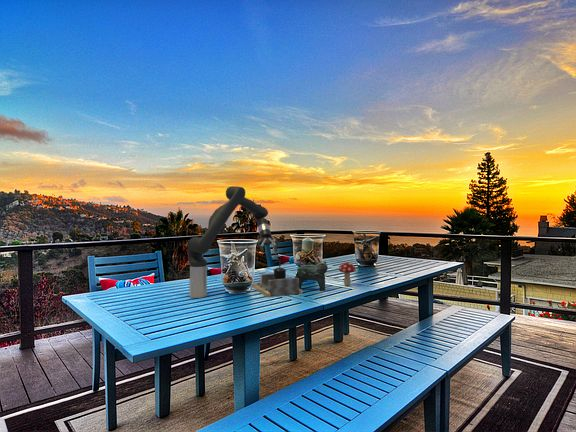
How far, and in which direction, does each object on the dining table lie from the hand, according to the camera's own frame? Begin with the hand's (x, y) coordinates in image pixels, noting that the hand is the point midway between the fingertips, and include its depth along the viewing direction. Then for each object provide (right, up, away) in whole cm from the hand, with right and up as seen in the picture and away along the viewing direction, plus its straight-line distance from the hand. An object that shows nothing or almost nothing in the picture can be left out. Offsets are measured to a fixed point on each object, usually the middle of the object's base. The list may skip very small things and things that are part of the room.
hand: (269, 251), depth 221 cm
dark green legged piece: (+26, -23, -12) cm, 37 cm away
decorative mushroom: (+50, -22, 0) cm, 55 cm away
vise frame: (+4, -22, -11) cm, 25 cm away
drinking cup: (+7, -23, -18) cm, 30 cm away
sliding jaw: (+3, -22, -7) cm, 23 cm away
